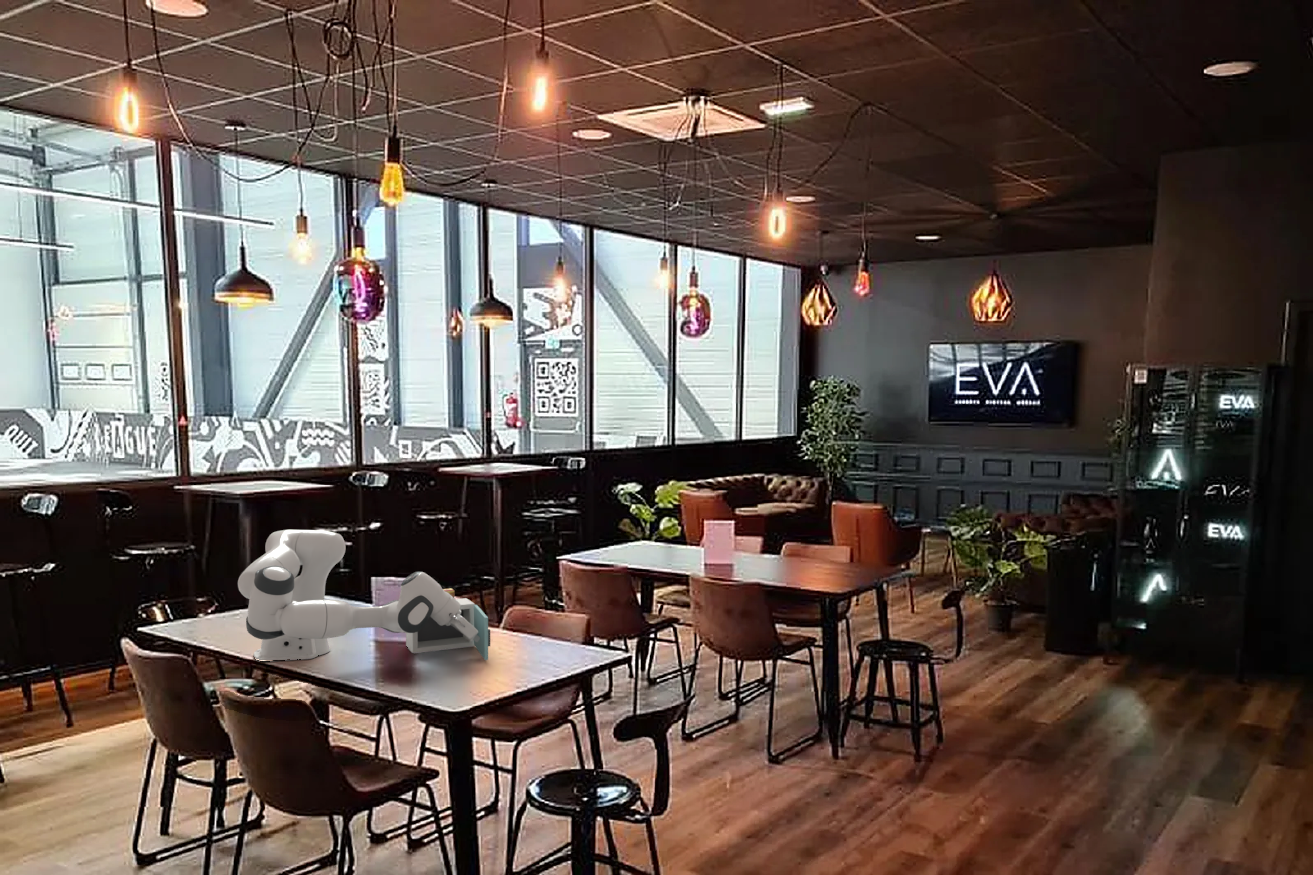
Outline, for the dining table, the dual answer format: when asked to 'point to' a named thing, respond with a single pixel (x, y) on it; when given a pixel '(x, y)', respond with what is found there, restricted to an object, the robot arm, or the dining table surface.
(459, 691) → the dining table surface
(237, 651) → the dining table surface
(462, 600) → the case
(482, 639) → the door
